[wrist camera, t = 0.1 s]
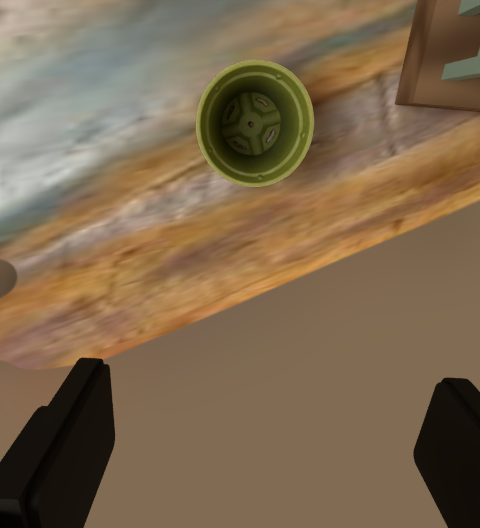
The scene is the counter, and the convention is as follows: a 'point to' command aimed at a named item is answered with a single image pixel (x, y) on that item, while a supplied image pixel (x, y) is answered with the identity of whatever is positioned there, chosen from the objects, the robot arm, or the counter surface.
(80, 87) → the counter surface
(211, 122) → the plant pot
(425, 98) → the brown square block
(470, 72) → the green notched block
